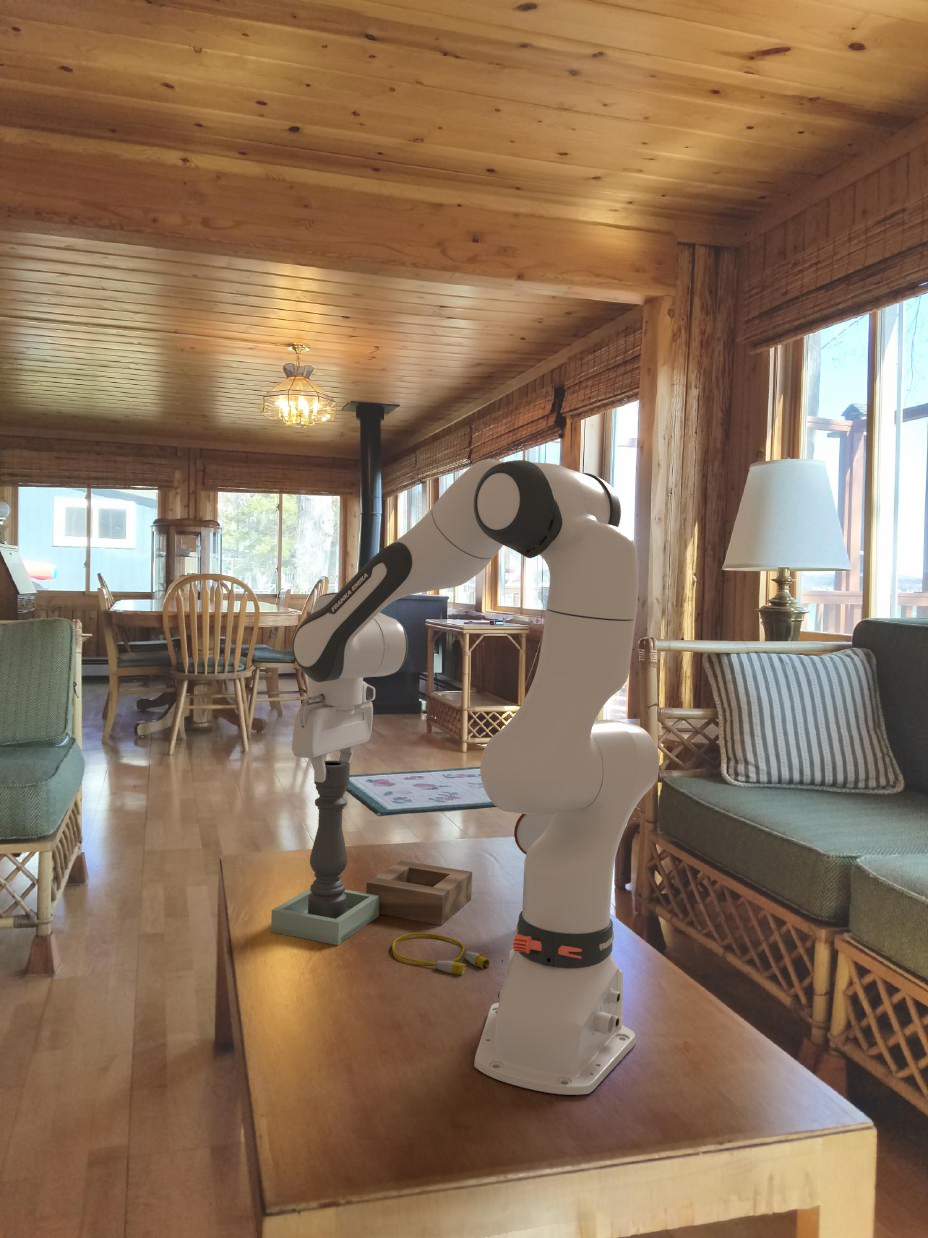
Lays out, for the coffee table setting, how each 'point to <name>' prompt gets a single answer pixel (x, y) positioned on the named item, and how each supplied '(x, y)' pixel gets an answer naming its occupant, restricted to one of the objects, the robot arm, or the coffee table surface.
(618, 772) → the robot arm
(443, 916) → the socket block
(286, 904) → the parts tray
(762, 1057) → the coffee table surface
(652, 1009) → the coffee table surface
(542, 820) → the magnifying glass
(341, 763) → the candle holder
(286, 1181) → the coffee table surface
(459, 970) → the extension cord
